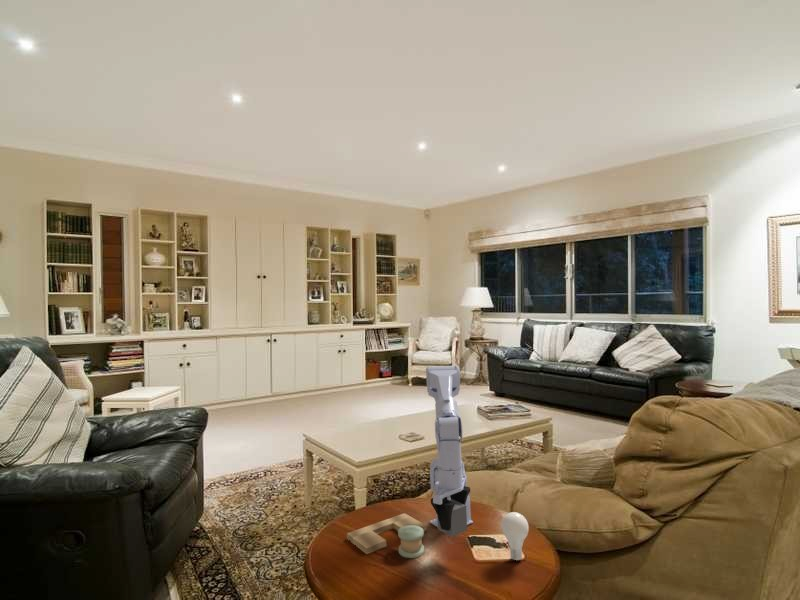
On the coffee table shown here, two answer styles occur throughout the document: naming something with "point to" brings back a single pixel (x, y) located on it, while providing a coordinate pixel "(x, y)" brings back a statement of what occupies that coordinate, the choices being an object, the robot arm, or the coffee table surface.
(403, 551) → the bobbin
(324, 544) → the coffee table surface
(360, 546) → the notched board
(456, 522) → the block
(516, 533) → the lightbulb
